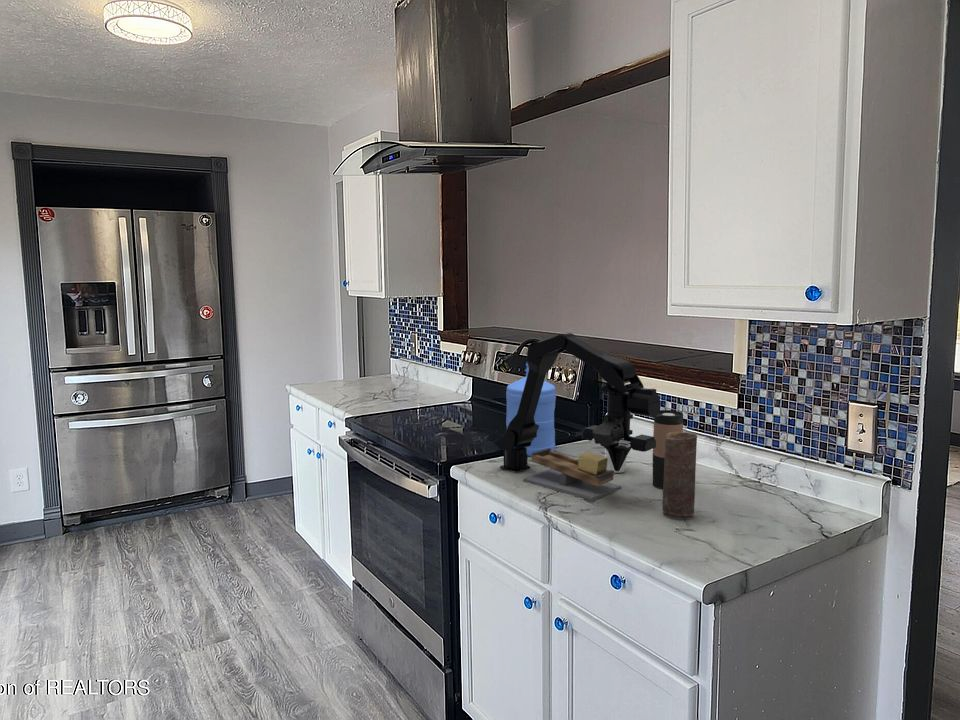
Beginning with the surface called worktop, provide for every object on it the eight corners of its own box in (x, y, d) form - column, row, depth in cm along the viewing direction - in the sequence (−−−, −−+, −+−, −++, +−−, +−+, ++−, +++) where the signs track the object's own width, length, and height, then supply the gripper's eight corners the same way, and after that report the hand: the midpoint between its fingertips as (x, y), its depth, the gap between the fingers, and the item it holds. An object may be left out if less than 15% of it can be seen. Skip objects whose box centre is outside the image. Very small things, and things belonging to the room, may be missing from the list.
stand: (523, 481, 192) (523, 468, 191) (552, 470, 201) (552, 458, 200) (592, 500, 176) (593, 487, 175) (620, 488, 185) (621, 475, 185)
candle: (688, 523, 161) (692, 438, 158) (657, 517, 165) (660, 434, 162) (697, 513, 167) (701, 431, 164) (667, 507, 171) (670, 428, 168)
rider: (577, 472, 184) (579, 454, 183) (586, 468, 187) (588, 451, 186) (596, 479, 180) (598, 461, 179) (605, 475, 183) (607, 457, 182)
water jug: (537, 460, 212) (537, 369, 208) (496, 451, 221) (496, 364, 217) (564, 449, 224) (565, 363, 220) (524, 441, 233) (525, 359, 229)
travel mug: (683, 483, 189) (685, 411, 187) (678, 491, 183) (681, 417, 180) (654, 479, 193) (656, 408, 190) (648, 487, 186) (651, 414, 183)
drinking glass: (628, 475, 197) (629, 423, 195) (604, 473, 198) (605, 422, 196) (628, 468, 203) (629, 417, 201) (604, 466, 205) (605, 417, 202)
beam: (531, 461, 193) (532, 452, 192) (547, 456, 198) (548, 447, 197) (597, 486, 178) (598, 477, 177) (613, 479, 183) (614, 470, 183)
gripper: (569, 410, 176) (568, 470, 178) (634, 422, 163) (632, 486, 166) (594, 403, 184) (593, 461, 186) (658, 414, 171) (656, 475, 173)
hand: (617, 470), depth 178 cm, fingers closed
